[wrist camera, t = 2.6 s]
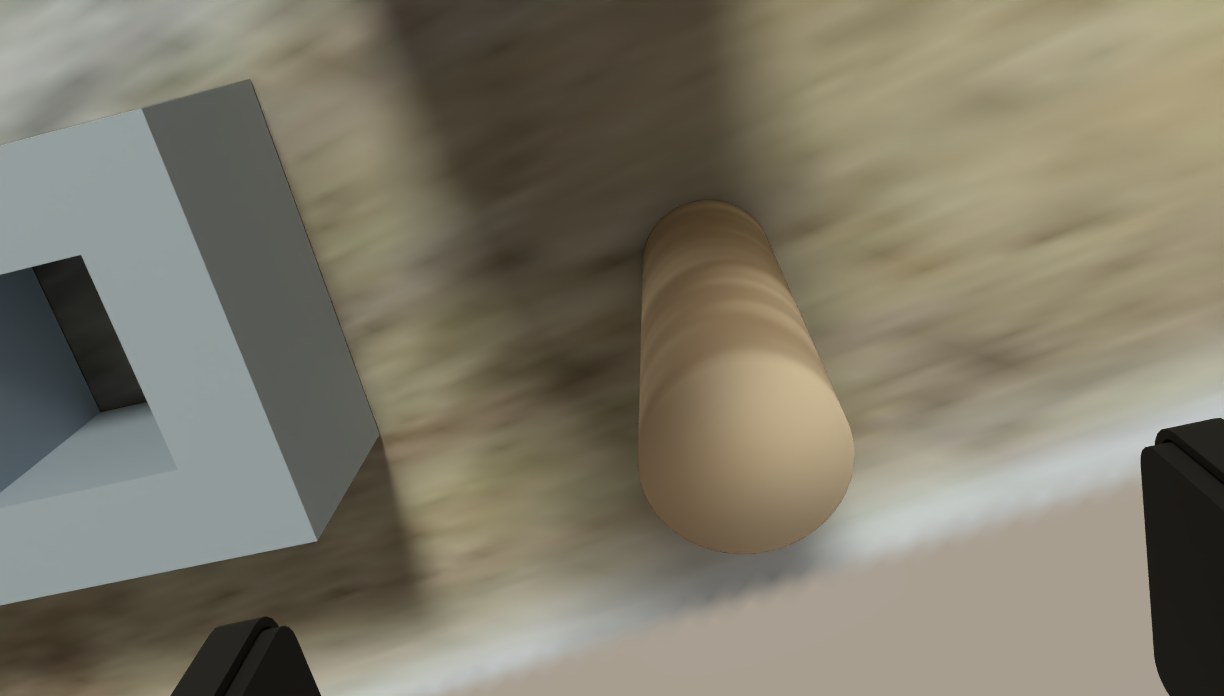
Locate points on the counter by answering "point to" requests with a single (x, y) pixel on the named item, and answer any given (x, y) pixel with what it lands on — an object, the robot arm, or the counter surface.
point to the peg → (732, 390)
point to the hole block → (167, 352)
